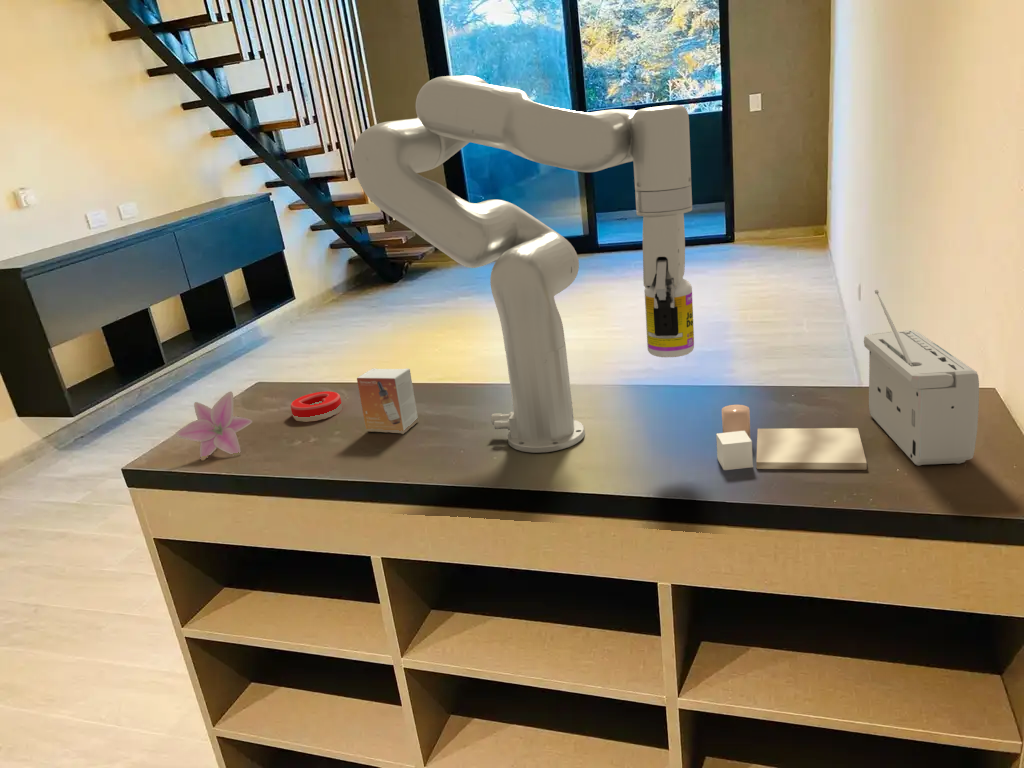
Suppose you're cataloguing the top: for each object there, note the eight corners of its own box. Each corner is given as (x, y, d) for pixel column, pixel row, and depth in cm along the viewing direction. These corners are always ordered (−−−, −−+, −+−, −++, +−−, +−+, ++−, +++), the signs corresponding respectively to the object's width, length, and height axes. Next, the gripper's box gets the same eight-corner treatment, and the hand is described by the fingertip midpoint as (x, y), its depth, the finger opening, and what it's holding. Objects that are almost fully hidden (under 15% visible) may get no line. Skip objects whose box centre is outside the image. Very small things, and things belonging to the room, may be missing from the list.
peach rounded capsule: (722, 445, 121) (720, 414, 119) (723, 435, 125) (722, 404, 123) (750, 445, 120) (749, 414, 118) (750, 435, 123) (749, 404, 122)
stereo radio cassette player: (978, 467, 105) (987, 317, 99) (911, 472, 106) (915, 324, 100) (916, 409, 125) (920, 282, 118) (860, 414, 126) (861, 288, 119)
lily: (176, 464, 146) (163, 429, 139) (211, 417, 154) (200, 382, 147) (236, 482, 144) (226, 447, 137) (268, 434, 152) (261, 399, 145)
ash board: (756, 468, 112) (756, 462, 112) (757, 434, 123) (757, 428, 123) (866, 469, 108) (866, 462, 108) (857, 434, 119) (857, 428, 118)
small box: (365, 433, 145) (354, 377, 142) (381, 421, 150) (371, 367, 147) (404, 434, 142) (394, 378, 139) (419, 422, 147) (410, 367, 144)
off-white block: (723, 470, 113) (722, 444, 112) (717, 459, 117) (716, 433, 116) (752, 467, 113) (751, 441, 112) (745, 456, 117) (744, 430, 115)
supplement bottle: (694, 358, 114) (691, 267, 109) (646, 360, 115) (641, 270, 111) (694, 343, 120) (691, 257, 116) (648, 346, 121) (644, 260, 117)
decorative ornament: (290, 413, 162) (287, 398, 161) (338, 401, 165) (335, 387, 164) (296, 427, 154) (293, 411, 153) (346, 415, 157) (343, 399, 156)
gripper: (644, 195, 119) (651, 312, 125) (626, 213, 104) (634, 346, 110) (696, 191, 117) (701, 311, 123) (685, 208, 102) (691, 345, 107)
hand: (669, 326), depth 116 cm, fingers closed on supplement bottle, 6 cm apart
